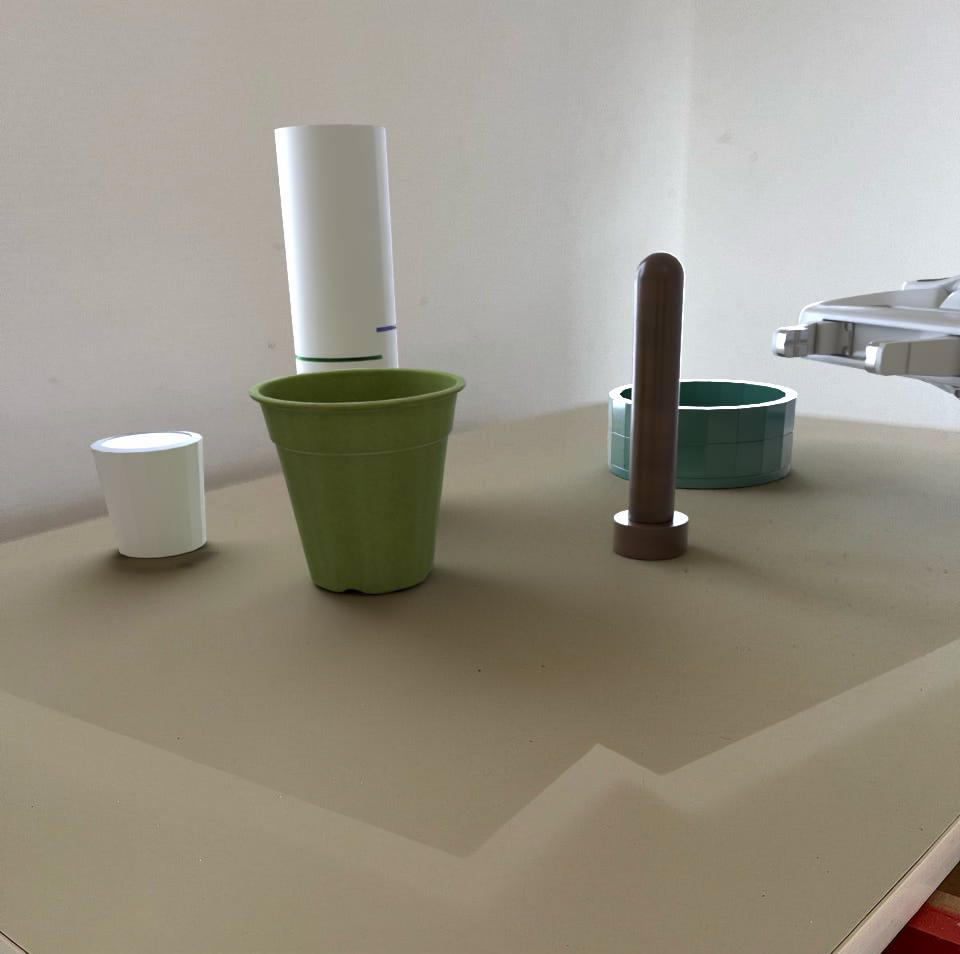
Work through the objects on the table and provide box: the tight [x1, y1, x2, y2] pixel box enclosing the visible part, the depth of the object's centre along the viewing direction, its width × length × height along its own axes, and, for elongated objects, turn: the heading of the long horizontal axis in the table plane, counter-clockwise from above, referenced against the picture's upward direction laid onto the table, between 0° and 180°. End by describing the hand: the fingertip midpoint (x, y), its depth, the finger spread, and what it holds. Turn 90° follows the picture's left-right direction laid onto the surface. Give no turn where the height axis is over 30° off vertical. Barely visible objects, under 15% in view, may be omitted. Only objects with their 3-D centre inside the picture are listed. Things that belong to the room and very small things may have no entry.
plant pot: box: [248, 367, 467, 595], centre depth 58 cm, size 12×12×11 cm
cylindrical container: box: [274, 123, 400, 374], centre depth 71 cm, size 7×7×25 cm
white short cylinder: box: [90, 430, 207, 559], centre depth 67 cm, size 7×7×7 cm
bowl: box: [606, 379, 798, 490], centre depth 83 cm, size 15×15×6 cm
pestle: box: [612, 251, 690, 561], centre depth 61 cm, size 5×5×17 cm
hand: (822, 350), depth 63 cm, fingers open, 8 cm apart
